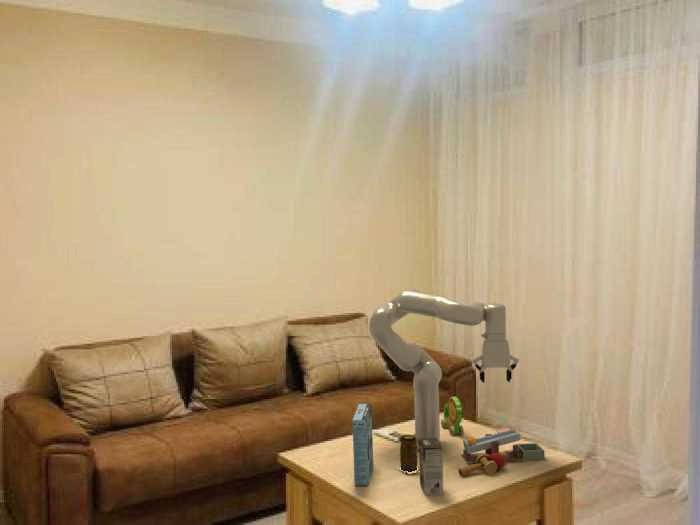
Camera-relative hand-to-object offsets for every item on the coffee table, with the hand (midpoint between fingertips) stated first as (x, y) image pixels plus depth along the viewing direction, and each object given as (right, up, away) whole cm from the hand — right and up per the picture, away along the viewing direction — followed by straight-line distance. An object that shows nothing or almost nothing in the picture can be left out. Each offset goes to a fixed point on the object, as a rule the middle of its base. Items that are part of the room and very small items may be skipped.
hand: (495, 381), depth 263 cm
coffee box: (-28, -31, -31) cm, 52 cm away
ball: (-10, -21, -6) cm, 24 cm away
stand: (-2, -28, -5) cm, 28 cm away
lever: (-3, -22, -2) cm, 22 cm away
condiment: (-34, -30, -13) cm, 47 cm away
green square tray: (+12, -27, -3) cm, 30 cm away
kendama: (-8, -29, -17) cm, 35 cm away
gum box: (-50, -30, -17) cm, 61 cm away
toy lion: (-12, -26, +27) cm, 39 cm away
